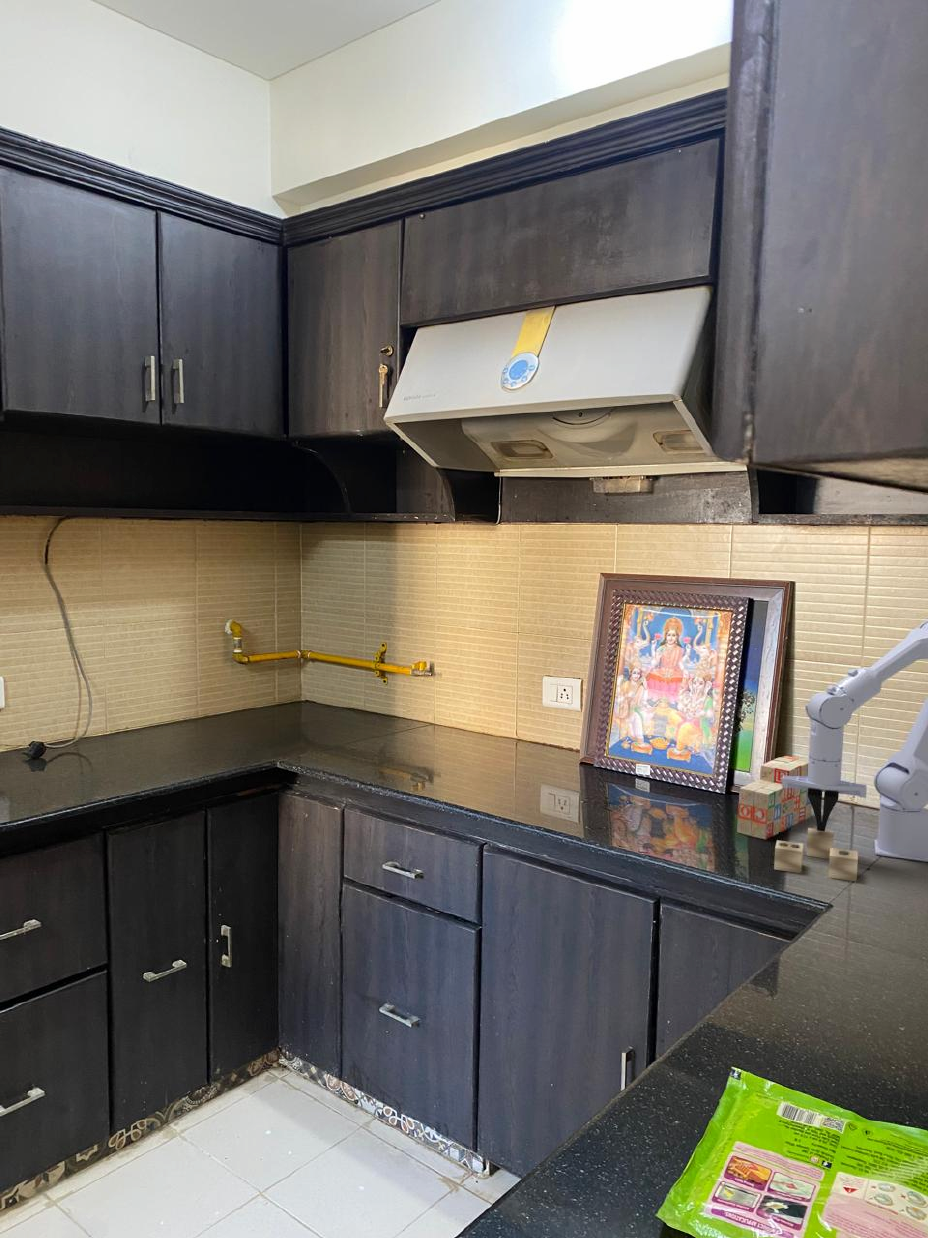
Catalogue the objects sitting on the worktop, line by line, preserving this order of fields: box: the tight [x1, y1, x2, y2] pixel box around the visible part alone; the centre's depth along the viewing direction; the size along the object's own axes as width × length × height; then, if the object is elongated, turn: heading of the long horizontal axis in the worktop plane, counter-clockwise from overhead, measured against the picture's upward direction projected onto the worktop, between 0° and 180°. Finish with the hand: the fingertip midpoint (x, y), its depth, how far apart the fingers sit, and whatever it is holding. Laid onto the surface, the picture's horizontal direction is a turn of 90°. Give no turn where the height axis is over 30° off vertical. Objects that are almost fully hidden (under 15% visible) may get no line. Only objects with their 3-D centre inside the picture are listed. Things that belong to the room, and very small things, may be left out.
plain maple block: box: [805, 827, 835, 859], centre depth 172 cm, size 4×4×4 cm
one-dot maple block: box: [827, 847, 859, 882], centre depth 162 cm, size 4×4×4 cm
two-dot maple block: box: [773, 839, 804, 874], centre depth 165 cm, size 4×4×4 cm
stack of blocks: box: [736, 755, 812, 840], centre depth 188 cm, size 21×6×12 cm, turn 137°
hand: (821, 829), depth 172 cm, fingers closed
